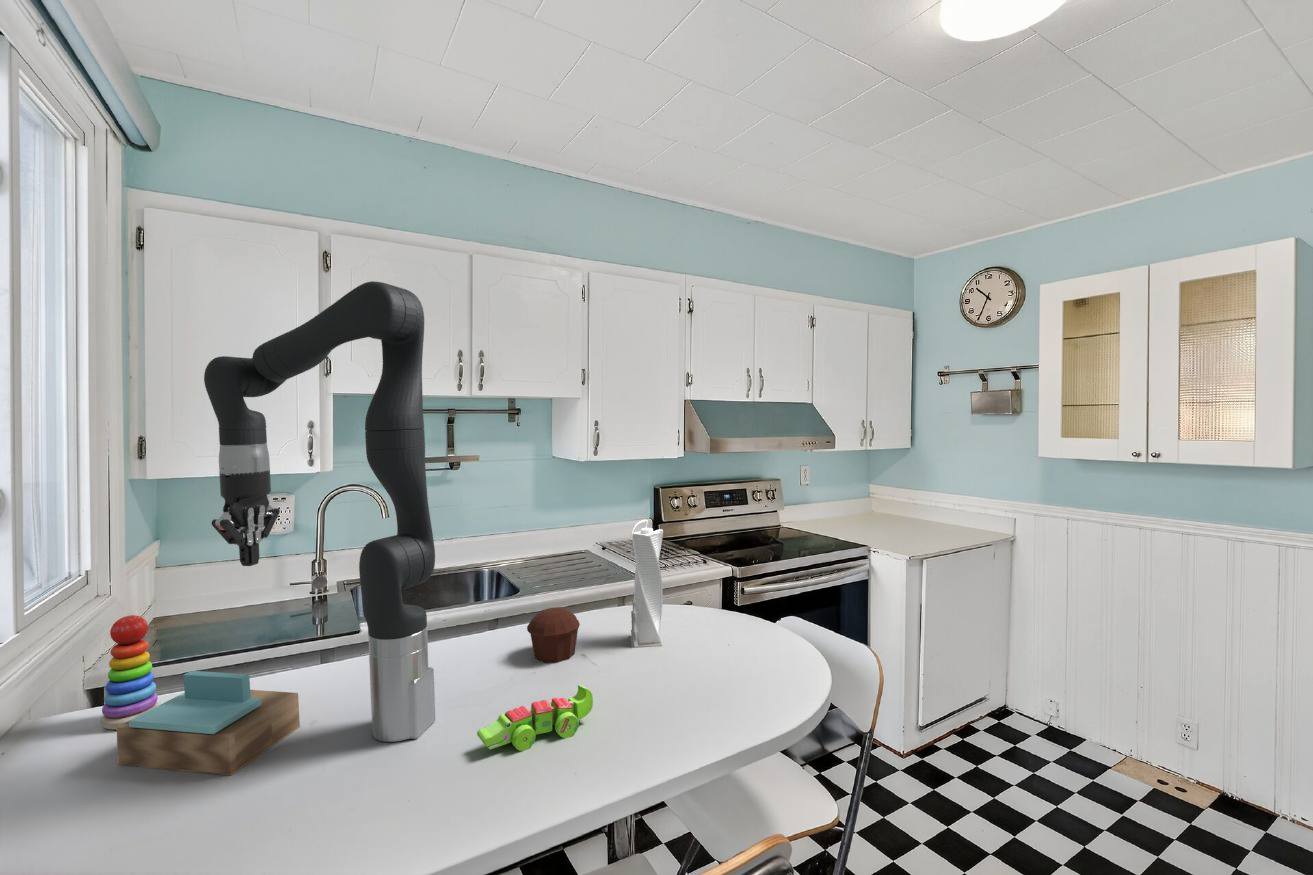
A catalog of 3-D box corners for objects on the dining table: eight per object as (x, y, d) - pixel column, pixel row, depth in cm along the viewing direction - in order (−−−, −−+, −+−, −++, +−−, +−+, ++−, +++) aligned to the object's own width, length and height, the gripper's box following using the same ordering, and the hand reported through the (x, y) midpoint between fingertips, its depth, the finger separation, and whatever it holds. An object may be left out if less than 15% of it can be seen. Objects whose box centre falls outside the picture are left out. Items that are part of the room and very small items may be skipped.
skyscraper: (629, 635, 146) (627, 519, 144) (662, 633, 146) (660, 518, 145) (631, 649, 137) (629, 526, 136) (667, 646, 138) (665, 525, 137)
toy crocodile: (484, 764, 94) (483, 725, 93) (474, 743, 99) (472, 707, 99) (600, 728, 103) (600, 693, 103) (585, 711, 109) (584, 678, 109)
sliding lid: (261, 704, 100) (260, 675, 100) (213, 733, 91) (211, 701, 91) (183, 698, 103) (181, 670, 102) (129, 726, 94) (127, 695, 93)
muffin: (555, 640, 142) (554, 598, 142) (590, 651, 136) (590, 607, 135) (516, 658, 132) (515, 613, 132) (552, 670, 126) (551, 623, 125)
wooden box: (299, 726, 105) (298, 692, 105) (230, 775, 91) (228, 736, 91) (199, 718, 108) (197, 685, 108) (118, 764, 94) (116, 727, 94)
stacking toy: (126, 733, 104) (119, 626, 103) (89, 729, 105) (82, 623, 104) (171, 710, 111) (165, 610, 110) (136, 707, 113) (130, 608, 112)
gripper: (256, 465, 116) (261, 555, 117) (193, 473, 103) (198, 574, 104) (291, 465, 114) (295, 556, 115) (232, 473, 101) (237, 575, 102)
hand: (249, 564), depth 109 cm, fingers closed
